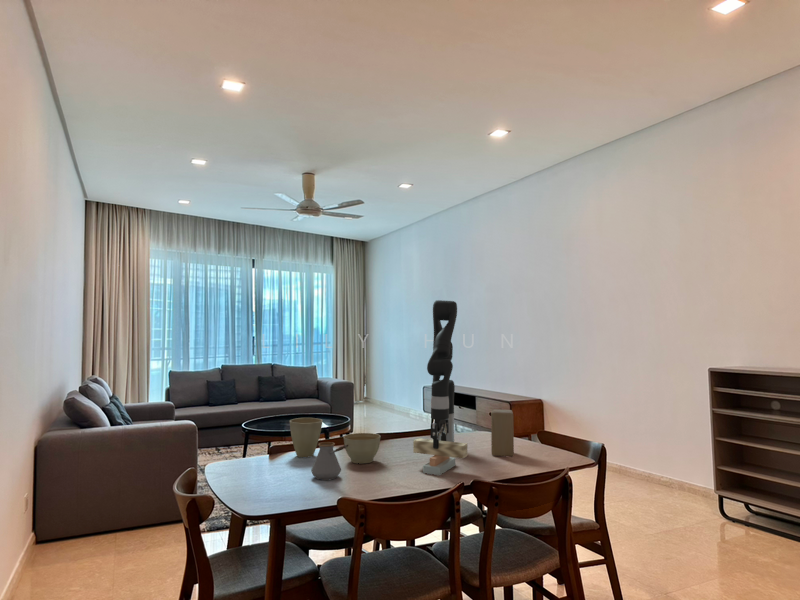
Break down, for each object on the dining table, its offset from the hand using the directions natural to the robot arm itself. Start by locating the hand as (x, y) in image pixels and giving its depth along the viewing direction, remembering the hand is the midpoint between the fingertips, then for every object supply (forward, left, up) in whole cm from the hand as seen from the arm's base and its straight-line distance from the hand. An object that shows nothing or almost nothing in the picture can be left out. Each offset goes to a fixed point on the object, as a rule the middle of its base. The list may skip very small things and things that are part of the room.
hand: (439, 446), depth 209 cm
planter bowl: (+4, -35, -9) cm, 36 cm away
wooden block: (-38, +16, -9) cm, 42 cm away
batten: (0, 0, -3) cm, 3 cm away
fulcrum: (0, 0, -9) cm, 9 cm away
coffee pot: (+34, -30, -9) cm, 46 cm away
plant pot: (+7, -63, -9) cm, 64 cm away
